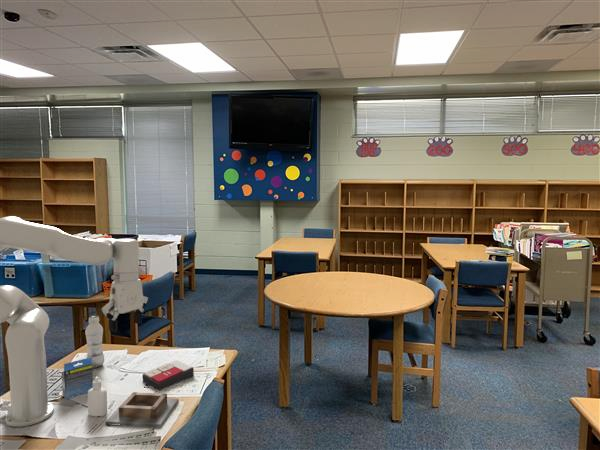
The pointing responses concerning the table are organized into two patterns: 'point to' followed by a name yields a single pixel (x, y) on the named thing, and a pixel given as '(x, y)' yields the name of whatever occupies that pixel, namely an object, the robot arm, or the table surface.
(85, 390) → the label tape cartridge
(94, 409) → the eye dropper bottle
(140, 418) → the stand
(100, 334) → the plastic bottle
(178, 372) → the red and grey box
